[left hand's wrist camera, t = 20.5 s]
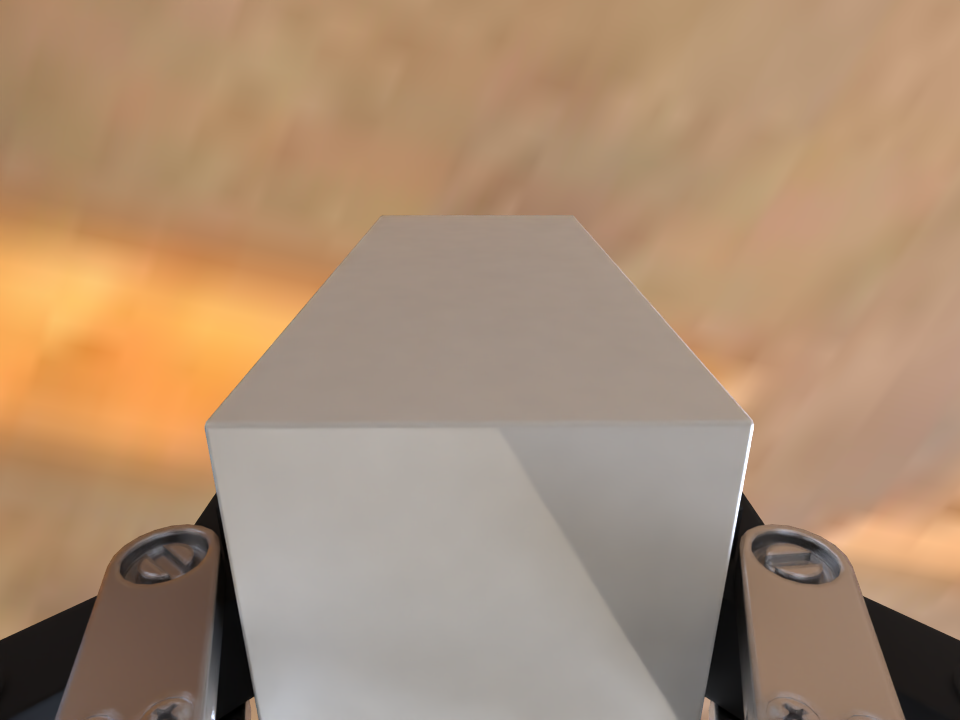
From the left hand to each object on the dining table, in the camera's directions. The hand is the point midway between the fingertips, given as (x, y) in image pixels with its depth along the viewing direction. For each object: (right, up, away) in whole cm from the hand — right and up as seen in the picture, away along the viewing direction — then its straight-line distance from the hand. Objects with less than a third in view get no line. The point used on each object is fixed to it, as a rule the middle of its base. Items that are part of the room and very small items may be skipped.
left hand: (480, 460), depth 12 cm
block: (0, +3, +6) cm, 7 cm away
